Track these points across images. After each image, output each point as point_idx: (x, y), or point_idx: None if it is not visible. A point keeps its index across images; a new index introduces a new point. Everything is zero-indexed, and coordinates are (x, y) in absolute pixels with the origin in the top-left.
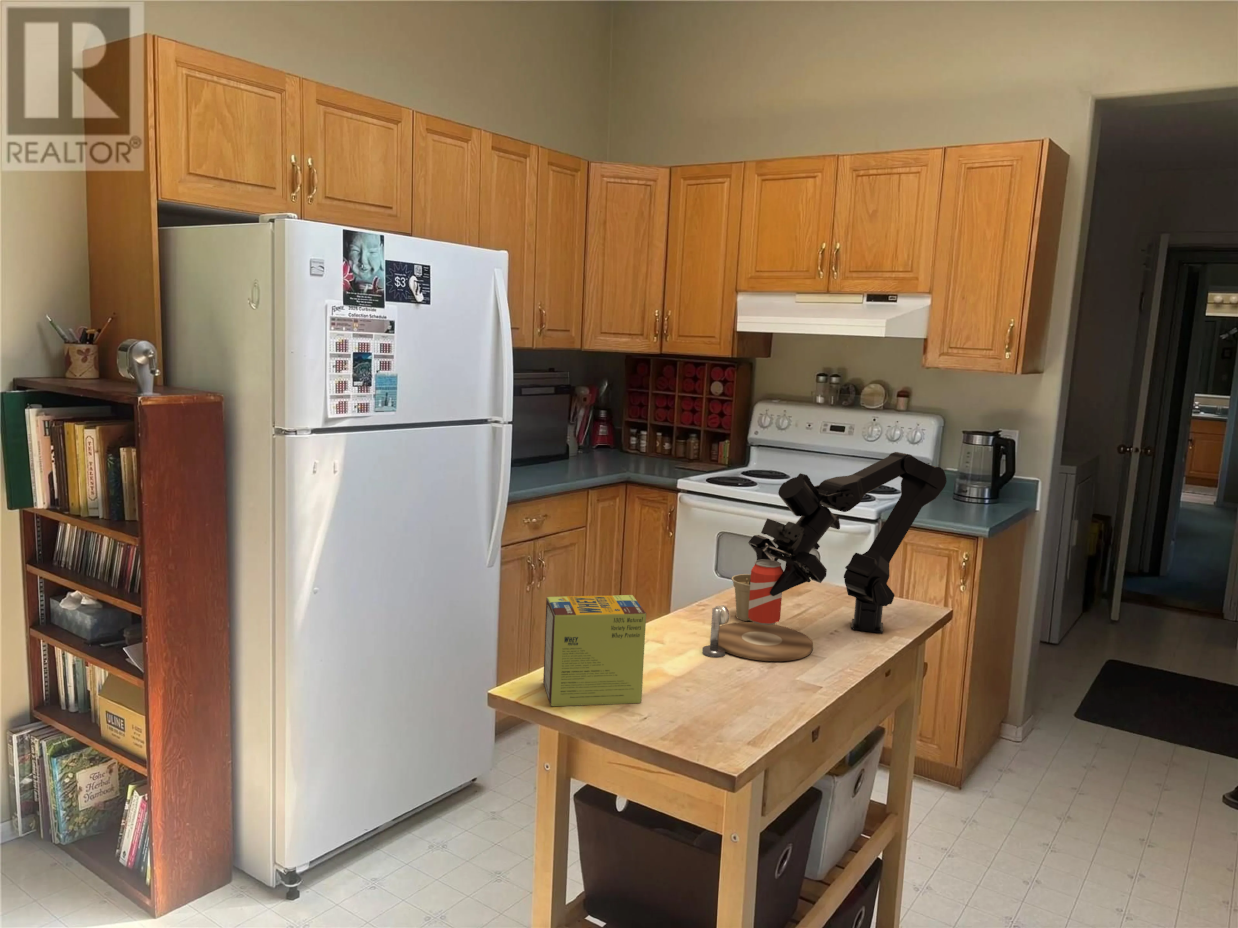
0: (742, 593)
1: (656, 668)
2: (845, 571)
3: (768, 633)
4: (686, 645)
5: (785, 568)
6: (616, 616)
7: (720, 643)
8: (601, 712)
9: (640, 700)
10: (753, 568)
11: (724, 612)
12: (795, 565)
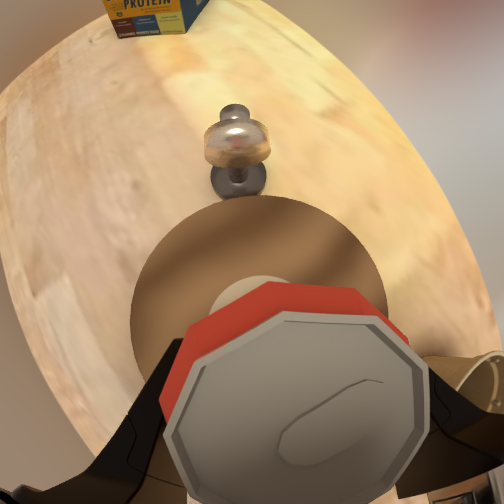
0: (455, 367)
1: (205, 65)
2: None
3: None
4: (301, 148)
5: (130, 487)
6: None
7: (258, 199)
8: None
9: (118, 36)
10: (343, 298)
11: (207, 132)
12: (21, 485)
